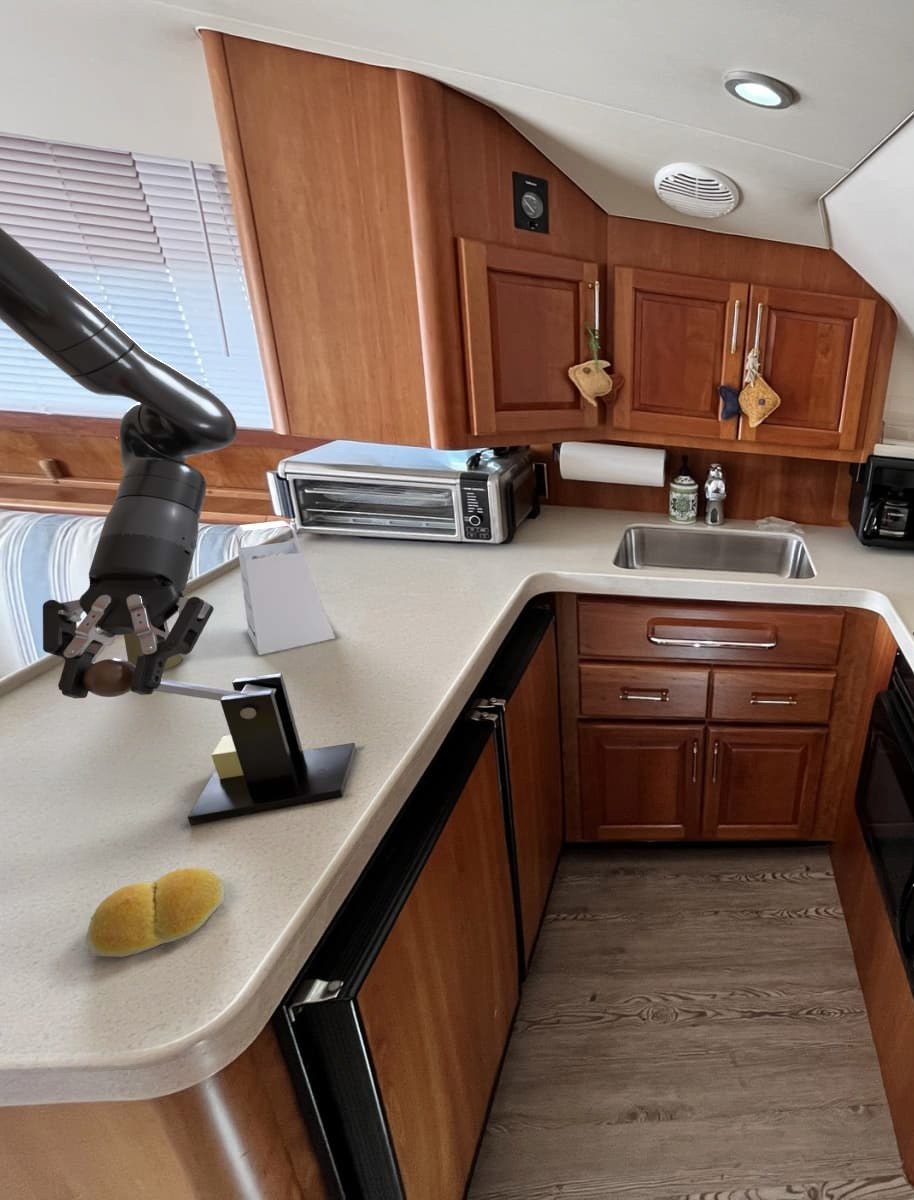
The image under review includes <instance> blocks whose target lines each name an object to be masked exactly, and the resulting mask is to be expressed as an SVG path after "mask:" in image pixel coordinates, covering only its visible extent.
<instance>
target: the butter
mask: <svg viewBox="0 0 914 1200" xmlns="http://www.w3.org/2000/svg"><path fill="white" fill-rule="evenodd" d="M211 758H212V759H211V760H212V761H213V764H214V768H215V770H216V771H217V774H218V777H219V779H223V778H229V777H235V776H241V775H243V771H242V768H241V765H240V762H239V759H238V756H237V752H236V749H235V746H234V743H233V740H232V737H231V734H230V735H224V736H222V737H221V738H220V740H219V741H218V743H217V745H216V747H215V748H214V750H213V751H212V753H211Z"/></svg>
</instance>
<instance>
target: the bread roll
mask: <svg viewBox="0 0 914 1200" xmlns="http://www.w3.org/2000/svg"><path fill="white" fill-rule="evenodd" d="M224 898H225V887H224V882H223V880H222V879H221V878H220V876H218V875H217V874H216V873H214V872H213V871H211V870H210V869H206V868H199V867H195V868H194V867H189V868H177V869H176V870H173V871H170V872H168V873H165V874H163V875H162V876H160V877H159V878H158V879H156V880H155V881H154V882H148V881H147V882H146V881H145V882H137V883H132V884H129V885H126V886H123V887H121V888H118V889H117V890H115V891H114V892H112V893H111V894H110V895H108V896H106V897H105V898H104V899H103V900H102V901H101V902H100V904H99V905H98V907H97V908H96V909H95V912H94V913H93V915H92V916H91V917H90V918H89V919H90V921H89V924H88V928H87V932H86V941H85V944H86V948H87V950H88V953H89V954H91V955H94V956H99V957H112V958H115V957H117V958H119V957H121V958H122V957H128V956H129V957H130V956H133V955H137V954H139V953H143V952H145V951H148V950H150V949H153V948H156V947H157V946H159V945H162V944H168V943H171V942H174V941H178V940H180V939H183V938H185V937H187V936H190V935H191V934H192V933H194V932H195V931H197V930H198V929H199V928H201V927H202V926H203V925H204V924H205V923H206V921H207V920H208V919H209V918H210V917H211V916H212V914H213V913H214V912H215V911H216V910H217V909H218V908H219V907H220V905H221V904H223V901H224Z"/></svg>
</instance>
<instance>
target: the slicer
mask: <svg viewBox="0 0 914 1200" xmlns="http://www.w3.org/2000/svg"><path fill="white" fill-rule="evenodd" d="M231 684H232V688H233V690H236V691H242V690H243V689H244V687H245V685H246V684H250V685H256V686H262V687H268V688H274V689H276V692H275V695H274V693H273V690H269V691H261V692H253V693H244V694H236V695H228V696H223V697H222V698H221V700H220V701H219V702H220V706H221V708H222V711H223V714H224V717H225V720H226V724H227V728H228V730H229V733H230V735H231V737H232V740H233V743H234V746H235V749H236V752H237V756H238V759H239V762H240V765H241V768H242V771H243V775H241V776H235V777H229V778H223V779H219V777H218V774H217V771H216V769H214V771H213V773H212V775H211V776H210V778H209V780H208V781H207V783H206V785H205V787H204V788H203V790H202V792H201V793H200V795H199V797H198V799H197V801H196V802H195V804H194V806H192V809H191V810H190V812H189V813H188V816H187V820H188V823H189V825H190V826H197V825H202V824H207V823H212V822H217V821H224V820H229V819H235V818H239V817H244V816H251V815H255V814H256V815H257V814H261V813H266V812H267V813H268V812H271V811H277V810H282V809H288V808H293V807H299V806H305V805H310V804H315V803H321V802H326V801H332V800H336V799H341V798H343V796H344V793H345V790H346V786H347V783H348V779H349V775H350V772H351V769H352V765H353V761H354V758H355V755H356V752H357V748H356V743H355V742H350V743H344V744H337V745H330V746H323V747H317V748H311V749H305V750H303V747H302V742H301V739H300V736H299V735H300V734H299V732H298V728H297V725H296V724H297V723H296V721H295V720H296V719H295V717H294V713H293V709H292V705H291V703H290V697H289V694H288V691H287V687H286V684H285V680H284V676H283V673H272V674H263V675H255V676H247V677H246V676H245V677H235V678H234V680H233V681H232V682H231Z"/></svg>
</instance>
